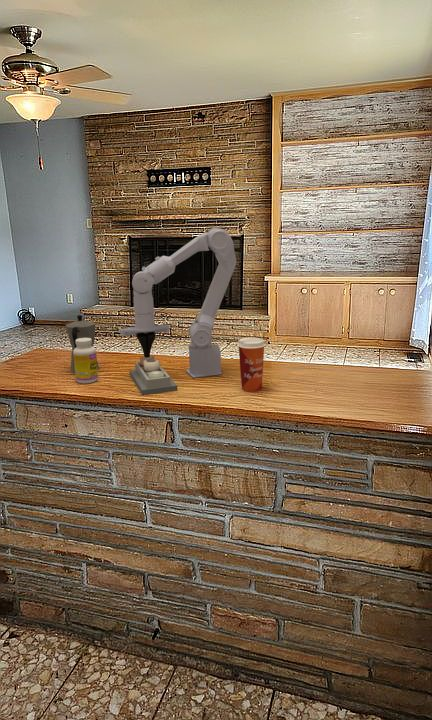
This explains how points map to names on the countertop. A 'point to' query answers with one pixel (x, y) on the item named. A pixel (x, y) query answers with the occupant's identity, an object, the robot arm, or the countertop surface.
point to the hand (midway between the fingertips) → (146, 356)
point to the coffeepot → (80, 334)
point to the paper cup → (251, 363)
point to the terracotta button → (144, 359)
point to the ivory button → (151, 365)
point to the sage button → (155, 374)
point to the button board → (152, 381)
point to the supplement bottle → (85, 361)
